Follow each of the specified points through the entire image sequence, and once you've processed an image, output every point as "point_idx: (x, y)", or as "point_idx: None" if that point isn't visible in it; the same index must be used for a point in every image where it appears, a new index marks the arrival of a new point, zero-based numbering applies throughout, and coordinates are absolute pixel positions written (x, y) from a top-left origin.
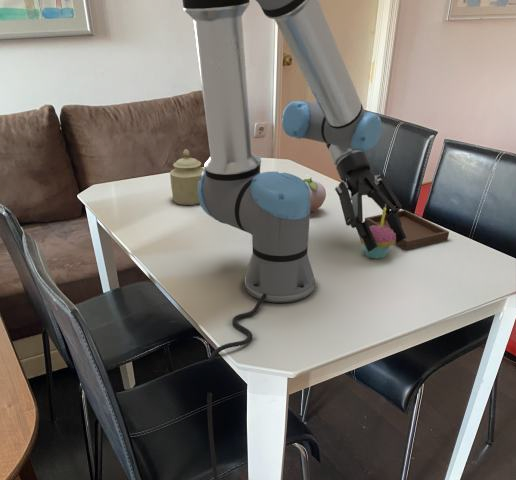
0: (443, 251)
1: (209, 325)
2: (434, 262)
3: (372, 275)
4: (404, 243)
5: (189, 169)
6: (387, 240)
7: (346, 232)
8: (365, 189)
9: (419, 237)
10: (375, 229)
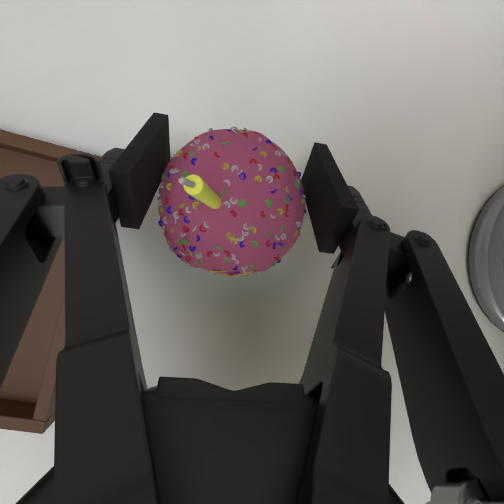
0: (18, 71)
1: None
2: (124, 50)
3: (338, 136)
4: None
5: None
6: (260, 133)
7: None
8: (254, 411)
9: (31, 148)
10: (265, 198)
